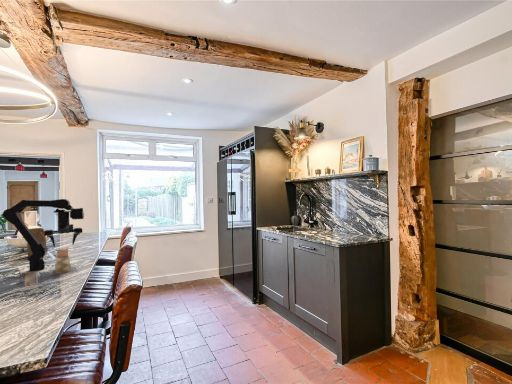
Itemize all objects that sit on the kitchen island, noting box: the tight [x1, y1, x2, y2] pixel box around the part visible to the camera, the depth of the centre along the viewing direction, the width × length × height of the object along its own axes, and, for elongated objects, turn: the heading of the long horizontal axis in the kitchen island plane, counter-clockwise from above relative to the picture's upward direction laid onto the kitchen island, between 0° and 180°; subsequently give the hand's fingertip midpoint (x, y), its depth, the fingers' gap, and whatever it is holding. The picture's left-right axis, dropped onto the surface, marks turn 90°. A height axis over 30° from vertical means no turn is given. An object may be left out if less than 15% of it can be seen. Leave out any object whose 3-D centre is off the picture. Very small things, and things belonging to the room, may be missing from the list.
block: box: [26, 227, 47, 258], centre depth 203 cm, size 11×8×20 cm
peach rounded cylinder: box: [56, 248, 69, 258], centre depth 161 cm, size 5×5×4 cm
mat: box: [48, 266, 78, 276], centre depth 161 cm, size 13×13×1 cm
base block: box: [54, 262, 72, 273], centre depth 161 cm, size 7×7×4 cm
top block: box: [55, 254, 71, 265], centre depth 161 cm, size 6×6×4 cm
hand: (63, 245), depth 169 cm, fingers open, 9 cm apart
